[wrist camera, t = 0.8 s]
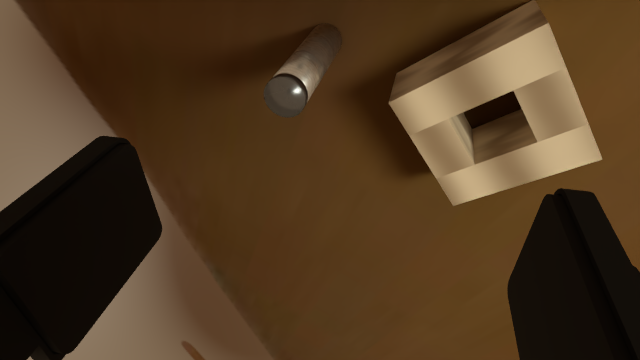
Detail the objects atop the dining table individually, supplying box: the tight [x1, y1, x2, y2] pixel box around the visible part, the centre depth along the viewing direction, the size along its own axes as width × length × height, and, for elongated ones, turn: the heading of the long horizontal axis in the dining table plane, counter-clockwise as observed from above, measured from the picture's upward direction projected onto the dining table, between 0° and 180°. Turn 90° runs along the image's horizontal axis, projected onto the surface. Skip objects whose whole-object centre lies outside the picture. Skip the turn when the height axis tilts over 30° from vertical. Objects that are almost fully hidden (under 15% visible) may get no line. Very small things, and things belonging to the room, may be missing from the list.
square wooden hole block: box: [389, 0, 602, 206], centre depth 34 cm, size 12×12×6 cm
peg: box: [264, 23, 342, 117], centre depth 32 cm, size 3×3×12 cm
